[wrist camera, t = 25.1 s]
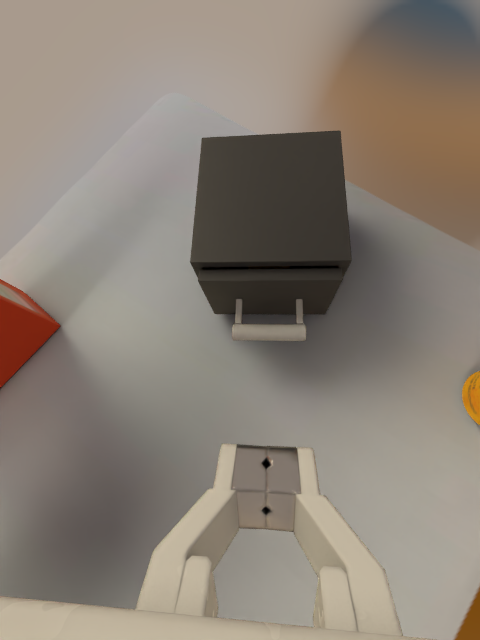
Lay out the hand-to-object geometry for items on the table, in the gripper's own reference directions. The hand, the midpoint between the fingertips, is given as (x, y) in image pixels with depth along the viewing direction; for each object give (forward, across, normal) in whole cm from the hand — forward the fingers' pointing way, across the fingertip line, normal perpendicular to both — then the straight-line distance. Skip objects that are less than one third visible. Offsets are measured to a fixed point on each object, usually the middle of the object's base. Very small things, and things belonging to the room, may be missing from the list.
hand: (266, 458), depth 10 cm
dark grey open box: (+32, 0, +1) cm, 32 cm away
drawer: (+28, 0, +4) cm, 28 cm away
